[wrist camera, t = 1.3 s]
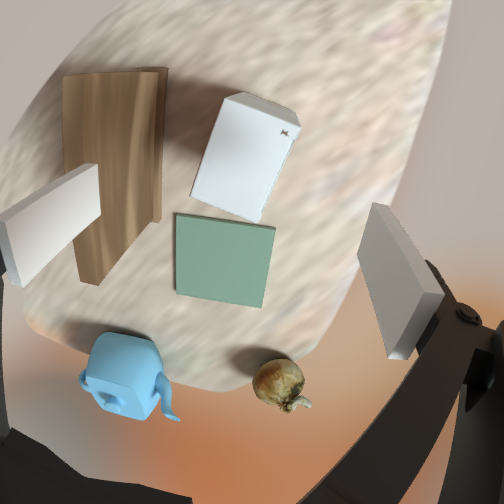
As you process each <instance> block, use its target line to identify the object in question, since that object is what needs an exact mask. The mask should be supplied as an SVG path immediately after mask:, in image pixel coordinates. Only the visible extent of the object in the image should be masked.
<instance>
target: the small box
mask: <svg viewBox="0 0 504 504" xmlns="http://www.w3.org/2000/svg"><path fill="white" fill-rule="evenodd" d="M300 131H301V125H300V123H299V120H298V118H297V115H296V113H295V112H294V111H291V110H289V109H286V108H284V107H282V106H279V105H277V104H274V103H272V102H269V101H267V100H264V99H262V98H259V97H257V96H254V95H251V94H249V93H246V92H241V93H238V94H235V95H232V96H228V97H225V98H224V99H223V101H222V104H221V107H220V109H219V112H218V115H217V117H216V120H215V123H214V125H213V128H212V131H211V134H210V136H209V139H208V142H207V145H206V148H205V151H204V153H203V156H202V159H201V162H200V165H199V168H198V171H197V174H196V177H195V180H194V183H193V186H192V190H191V193H190V195H189V196H190V197H191V198H194V199H196V200H199V201H202V202H204V203H207V204H209V205H212V206H214V207H217V208H219V209H222V210H224V211H227V212H229V213H232V214H234V215H236V216H239V217H241V218H244V219H246V220H249V221H251V222H254V223H256V224H257V223H259V221H260V218H261V216H262V213H263V210H264V208H265V206H266V203H267V201H268V199H269V196H270V194H271V192H272V190H273V187H274V185H275V183H276V181H277V178H278V176H279V174H280V172H281V170H282V167H283V165H284V163H285V161H286V159H287V157H288V154H289V152H290V150H291V148H292V146H293V144H294V142H295V140H296V138H297V136H298V134H299V132H300Z"/></svg>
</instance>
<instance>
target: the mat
mask: <svg viewBox="0 0 504 504" xmlns="http://www.w3.org/2000/svg"><path fill="white" fill-rule="evenodd" d="M275 231H276V228H273V227H267V226H260V225H254V224H247V223H241V222H234V221H227V220H220V219H213V218H207V217H199V216H192V215H185V214H177V215H176V294H180V295H185V296H191V297H196V298H202V299H208V300H213V301H219V302H225V303H231V304H237V305H244V306H250V307H257V308H261V307H262V302H263V297H264V291H265V286H266V280H267V275H268V270H269V264H270V259H271V253H272V247H273V242H274V236H275Z"/></svg>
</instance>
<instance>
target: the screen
mask: <svg viewBox="0 0 504 504" xmlns="http://www.w3.org/2000/svg"><path fill="white" fill-rule="evenodd" d="M167 76H168V68H137V72H106V73H85V74H76V75H68V76H63V91H62V137H63V159H64V173H65V174H67V173H68V172H70V171H72V170H74V169H76V168H78V167H80V166H81V165H83V164H85V163H89V164H98V181H99V196H100V209H101V215H100V216H99V217H98V218H96V219H95V220H94V221H93V222H92V223H91V224H89V225H88V226H87V227H86V228H85V229H84V230H83V231H82V232H80V233H79V234H78V235H77V236H76V237H75V238H74V239H73V245H74V251H75V257H76V262H77V267H78V272H79V277H80V281H81V282H84V283H88V284H92V285H97V286H99V285H100V283H101V282H102V281H103V279H104V278H105V277H106V275H107V274H108V273H109V272H110V270H111V269H112V268H113V266H114V265H115V264H116V263H117V261H118V260H119V259H120V258H121V256H122V255H123V254H124V253H125V251H126V250H127V249H128V248H129V247H130V245H131V244H132V243H133V242H134V241H135V239H136V238H137V237H138V236H139V235H140V233H141V232H142V231H143V230H144V229H145V227H146V226H147V225H148V224H149V223H150V222H156V223H159V221H160V220H161V188H162V152H163V130H164V114H165V100H166V88H167Z"/></svg>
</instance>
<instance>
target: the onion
mask: <svg viewBox="0 0 504 504" xmlns="http://www.w3.org/2000/svg"><path fill="white" fill-rule="evenodd" d="M304 381H305V379H304V376H303V374H302V371H301V370H300V368H299V367H298V365H297V364H295V363H294V362H292V361H290V360H287V359H275V360H271V361H269V362H267V363H265V364H264V365H262V367H261V368H260V369H258V371H257V372H256V374H255V375H254V378H253V381H252V384H253V388H254V391H255V394H256V396H257V397H258V398H259V399H260V400H262V401H264V402H266V403H267V404H271V405H276V404H277V405H278V406H280V407H281V408H280V410H282V412H286V413H290V411H291V409H292V410H293V411H295V408H296V407H297V405H298V404H301V405H304V406H305V407H306V408H308V407H309V408H310V407H311V406H312V402H311V401H310V400H308V399H307V398H306V397H304V396H298V395H299V394H300V392H301V391H302V389H303V386H304Z"/></svg>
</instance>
